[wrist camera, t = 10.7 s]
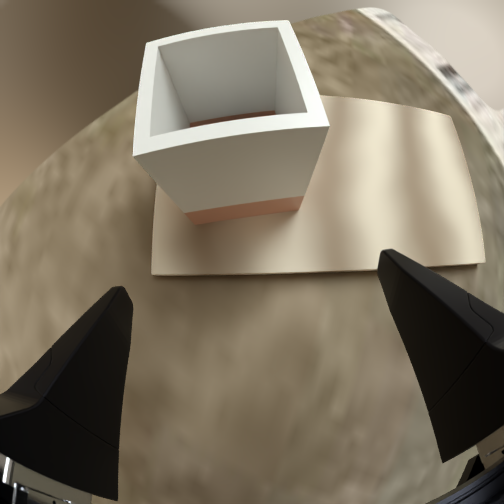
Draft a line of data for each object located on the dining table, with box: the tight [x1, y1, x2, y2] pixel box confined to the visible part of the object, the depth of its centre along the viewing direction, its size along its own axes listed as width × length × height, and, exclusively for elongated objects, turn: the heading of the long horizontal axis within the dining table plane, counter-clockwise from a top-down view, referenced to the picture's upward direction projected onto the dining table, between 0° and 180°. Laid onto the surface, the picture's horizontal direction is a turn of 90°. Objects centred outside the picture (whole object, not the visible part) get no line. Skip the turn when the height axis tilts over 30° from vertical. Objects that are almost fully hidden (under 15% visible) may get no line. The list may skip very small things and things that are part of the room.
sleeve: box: [133, 20, 330, 225], centre depth 13 cm, size 6×6×9 cm
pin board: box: [151, 95, 485, 276], centre depth 16 cm, size 24×13×4 cm, turn 91°
